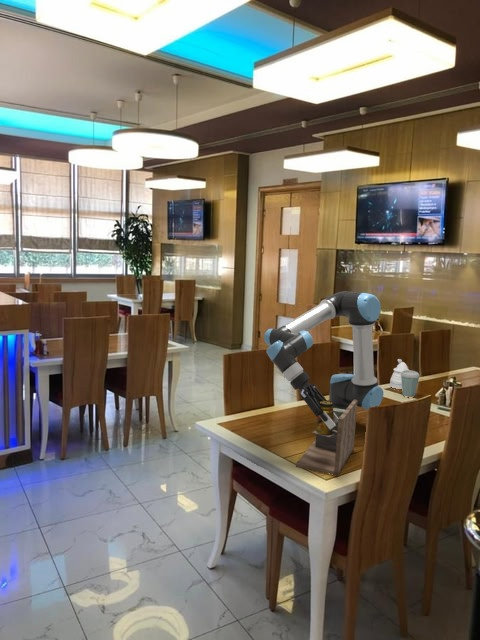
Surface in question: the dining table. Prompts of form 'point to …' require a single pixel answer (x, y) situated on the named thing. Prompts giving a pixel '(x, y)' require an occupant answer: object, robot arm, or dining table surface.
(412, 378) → the disposable coffee cup
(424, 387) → the dining table surface
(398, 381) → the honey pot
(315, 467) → the wooden l-shaped bookend
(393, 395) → the dining table surface
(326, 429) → the condiment
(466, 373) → the dining table surface
